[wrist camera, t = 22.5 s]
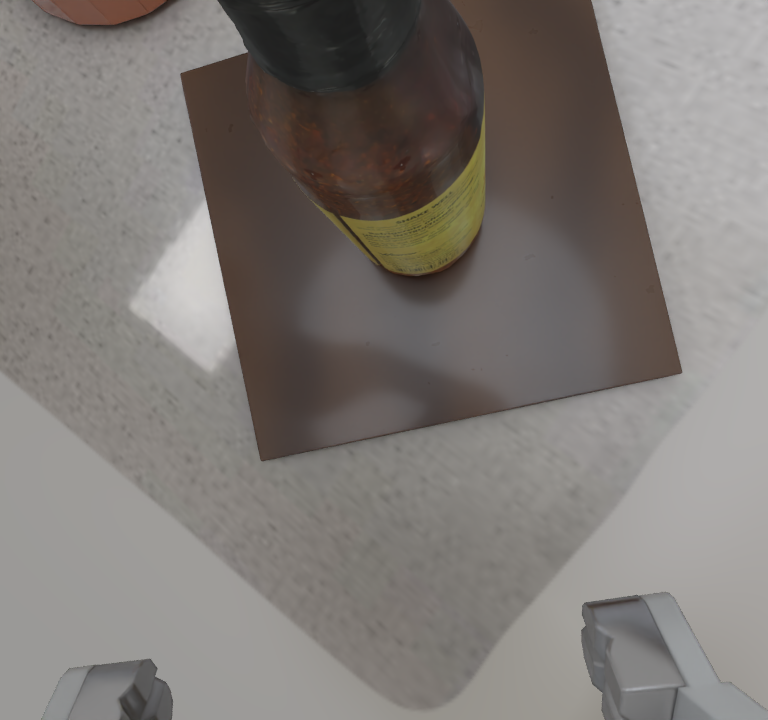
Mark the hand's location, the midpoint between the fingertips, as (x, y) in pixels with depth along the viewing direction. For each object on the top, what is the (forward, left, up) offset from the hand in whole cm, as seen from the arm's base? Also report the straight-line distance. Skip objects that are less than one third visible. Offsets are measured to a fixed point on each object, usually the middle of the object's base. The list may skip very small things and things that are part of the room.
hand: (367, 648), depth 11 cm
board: (+2, +12, -17) cm, 21 cm away
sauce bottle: (+2, +12, -16) cm, 21 cm away
